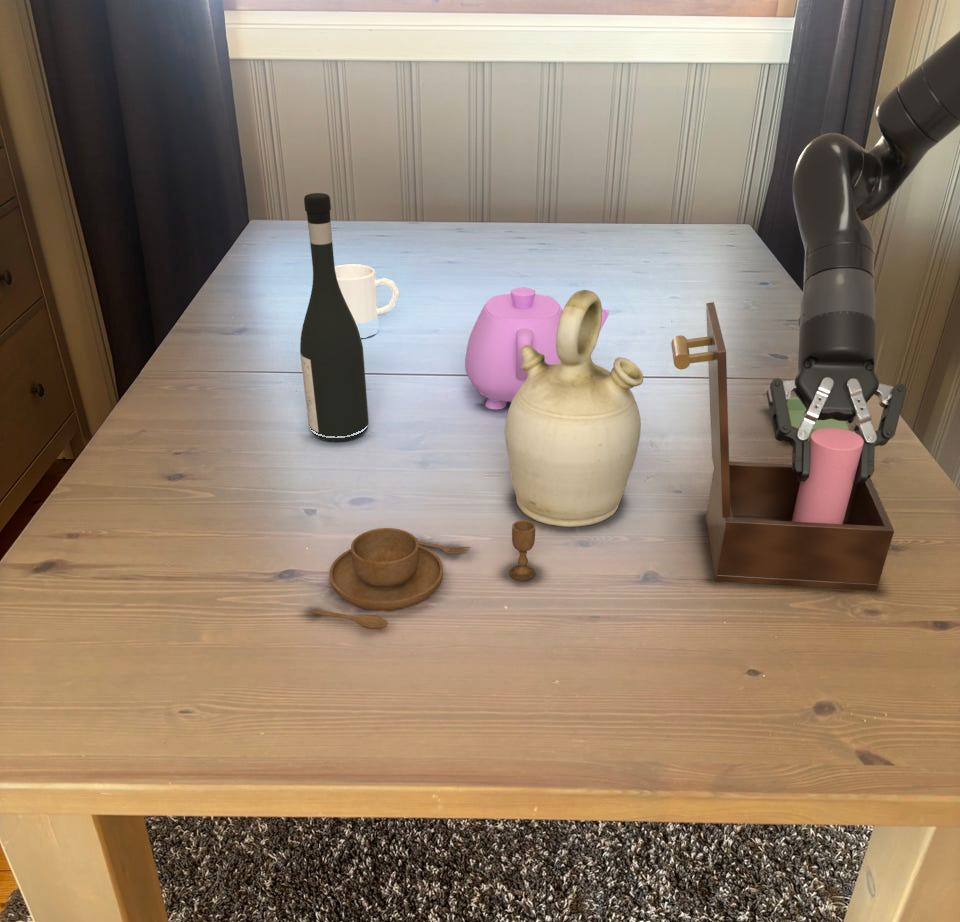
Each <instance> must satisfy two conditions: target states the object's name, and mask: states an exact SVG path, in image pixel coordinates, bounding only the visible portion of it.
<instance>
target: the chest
mask: <svg viewBox="0 0 960 922" xmlns="http://www.w3.org/2000/svg"><path fill="white" fill-rule="evenodd" d="M729 475H730V512H731V517H726V518H723V517H722V511H721V506H720V500H719V494H718V489H717V483H716V477H715V471H714V469H713V471H712V476H711V483H710V489H709V494H708V495H709V496H708V502H707V508H706V515H705V519H706V525H707V533H708V539H709V540H708V541H709V546H710V554H711V558H712V559H711V561H712V567H713V573H714V580H715V582H721V583H722V582H723V583H724V582H725V583H738V584H739V583H742V584H755V585H756V584H758V585H774V586H775V585H776V586H793V587H809V588H824V589H826V588H827V589H843V590H860V591H877V590H878V587H879V584H880V581H881V577H882V573H883V571H884V566H885V565H886V560H887V557H888V554H889V550H890V547H891V543H892V540H893V537H894V534H895V529H894V527H893V525H892V522H891V521H890V518H889V516H888V513H887V511H886V509H885V507H884V504H883V502H882V500H881V498H880V495H879V493H878V491H877V489H876V487H875V485H874V482H873V479H872V476H871V477H870V478H869V479H867V481H866V482H865V483H864V484H863V485H859V484H855V479H854V483H853V486H852V490H851V494H850V498H849V502H848V506H847V510H846V513H845V517H844V521H843V524H829V523H810V522H792V518H793V513H794V509H795V504H796V500H797V495H798V491H799V486H800V482H801V481H798V476H794V475H793V473H792V463H791V464H790V463H774V462H773V463H772V462H771V463H769V462H751V461H730V460H729Z"/></svg>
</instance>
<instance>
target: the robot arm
mask: <svg viewBox="0 0 960 922" xmlns="http://www.w3.org/2000/svg"><path fill="white" fill-rule="evenodd" d="M875 122H876V125H877V128H878V130H879V132H880V134H881V137H880V138H879V139H878V141H877V142H876V144H875V145H873V147H872V148H871V149H870V150H866V149H865V148H864V147H862V146H861V145H859V144H858V143H857V142H855V141H854V140H853V139H851V138H850V137H848V136H847V135H844V134H841V133H837V132H834V133H833V132H829V133H828V132H827V133H825V134H822V135H819V136H817V137H815V138H814V139H813V140H811V142H809V143H808V144H807V145H806V146H805V148H804V149H803V150H802V152H801V154H800V155H799V157H798V159H797V162H796V164H795V168H794V172H793V175H792V185H791V186H792V187H791V188H792V201H793V206H794V211H795V216H796V220H797V225H798V230H799V234H800V237H801V241H802V244H803V249H804V261H803V262H804V263H803V284H802V285H803V286H802V287H803V288H802V296H801V300H800V306H799V307H800V309H799V317H798V329H799V332H798V334H799V335H798V356H797V357H798V358H797V359H798V360H797V361H798V362H797V367H798V368H797V374H796V376H795V377H794V379H789V380H782V379H781V378H779V377H777V378H774V379H772V381H771V383H770V384H769V386H768V387H767V390H766V399H767V403H768V409H769V414H770V419H771V424H772V430H773V435H774V439H775V440H776V441H779V442H786V443H787V444H789V443H790V446H791V448H792V450H791V451H792V454H791V456H792V457H791V464H792V473H793V475H794V476H798V481H802V482H805V481H806V480H807V479H808V477H809V473H810V442H809V441H808V437H809V435H810V433H811V431H812V429H813V426H814V424H815V422H816V420H827V419H835V420H838V421H846V423H847V425H848V428H849V430H850V431H852V432H854V433H856V434H858V435H859V436H861V437H862V439H863V441H864V444H863V448H862V452H861V456H860V459H859V463H858V467H857V471H856V475H855V484H859V485H863V484H864V483H865V482H866V481H867V479H869V478H870V477H871V478H872V476H873V475H874V472H875V451H876V450H875V449H876V447H879V446H880V447H884V446H885V445H886V444H888V442H889V441H890V440H891V439H892V438H893V437H894V436H895V435H896V432H897V428H898V423H899V420H900V415H901V412H902V408H903V404H904V400H905V396H906V392H907V387H906V385H905V384H903V383H897V384H895V385H894V386H893V385H889V384H885V383H880V381H879V378H878V377H877V374H876V371H875V361H876V359H875V358H876V353H875V352H876V321H877V319H876V318H877V315H876V314H877V297H876V289H875V253H876V251H875V239H874V236H873V233H872V231H871V230H870V228H869V227H868V226H867V225H866V224H865V222H864V221H865V220H867V219H869V218H870V217H872V216H874V215H876V214H877V213H879V211H880V210H882V209H883V208H884V207H885V206H886V205H887V204H888V203H889V201H890V200H891V199H892V198H893V196H894V195H895V194H896V193H897V191H898V190H899V189H900V187H901V186H902V185H903V184H904V183H905V182H906V180H907V178H909V176H911V174H912V172H913V171H914V170H915V169H916V167H917V166H918V165H919V163H921V160H922V159H923V158H924V157H925V156H926V154H927V153H928V152H929V151H930V150H931V149H932V148H934V147H935V146H937V145H938V144H939V143H940V142H942V141H943V140H944V139H945V138H946V137H947V136H949V135H950V134H951V133H953V131H955V130H956V129H957V128H958V127H960V30H959V31H958V32H957V33H955V34H954V35H953V36H952V37H951V38H949V39H948V40H947V41H946V42H945V43H944V44H943V45H941V46H940V47H939V48H937V49H936V50H935V51H934V52H933V53H932V54H931V55H930V56H928V57H927V58H926V59H924V61H923V62H922V63H921V64H919V65H918V66H917V67H916V68H914V70H913V71H912V72H911V73H910V74H909V75H908V76H906V77H905V78H904V79H903V80H902V81H901V82H900V83H898V85H896V86H895V87H894V88H893V89H892V90H891V91H889V93H888V94H887V95H886V96H885V97H884V98H883V99H882V100H881V101H880V102H879V104H878V105H877V108H876V110H875ZM793 392H794V394H795V395H796V397H797V398H799V399H800V401H801V402H802V403H803V405H804V406H805V408H806V410H805V413H804V415H803V417H802V419H801V421H800V423H799V426H798V428H796V427H793V426H791V421H790V416H789V411H788V405H787V402H788V400H789V399H790V398H792V393H793ZM874 395H875V396H876V397H877V399H878V405H879V406H880V407H881V408H882V412H881V415H880V419H879V424H878V428H877V430H875V428H874V425H873V422H872V414H871V411H870V409H869V407H868V404H867V403H868V402H869V401H870V400H871V398H872V397H873V396H874Z"/></svg>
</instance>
